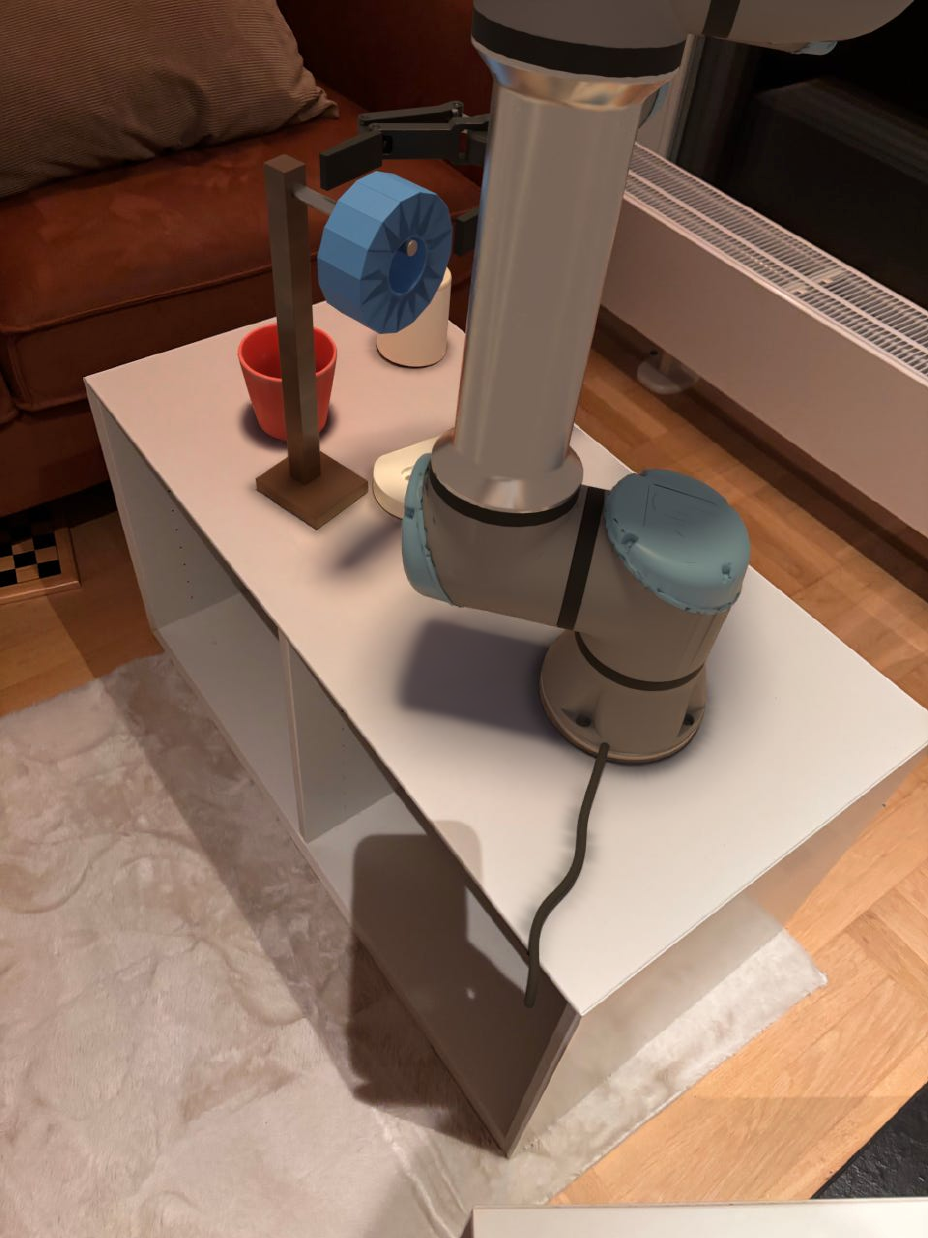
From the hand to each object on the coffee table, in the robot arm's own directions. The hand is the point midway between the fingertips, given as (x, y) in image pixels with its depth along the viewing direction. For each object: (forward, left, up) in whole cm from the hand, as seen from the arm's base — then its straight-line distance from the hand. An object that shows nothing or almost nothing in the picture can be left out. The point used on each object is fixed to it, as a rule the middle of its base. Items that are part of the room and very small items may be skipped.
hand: (388, 204), depth 70 cm
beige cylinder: (+35, -5, -25) cm, 43 cm away
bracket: (+10, -9, -36) cm, 38 cm away
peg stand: (+4, +4, -36) cm, 36 cm away
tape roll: (0, 0, -4) cm, 4 cm away
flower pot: (+18, +10, -36) cm, 41 cm away
